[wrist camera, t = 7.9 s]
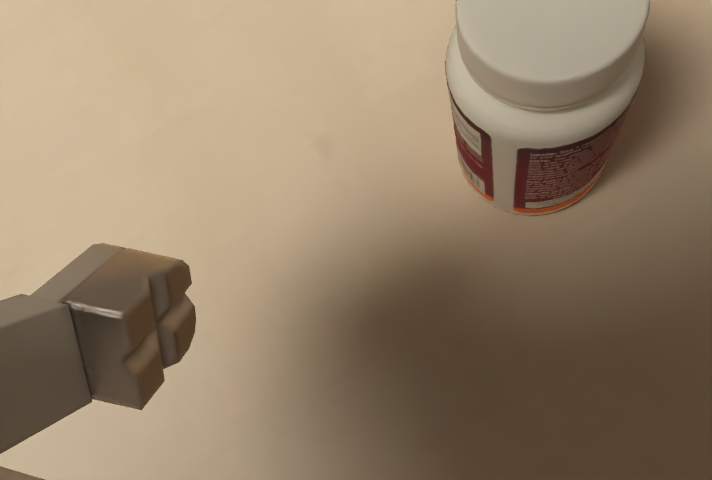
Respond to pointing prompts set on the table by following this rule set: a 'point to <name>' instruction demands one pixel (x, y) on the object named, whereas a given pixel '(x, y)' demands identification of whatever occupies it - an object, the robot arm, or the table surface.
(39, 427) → the robot arm
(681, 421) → the table surface
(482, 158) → the pill bottle
